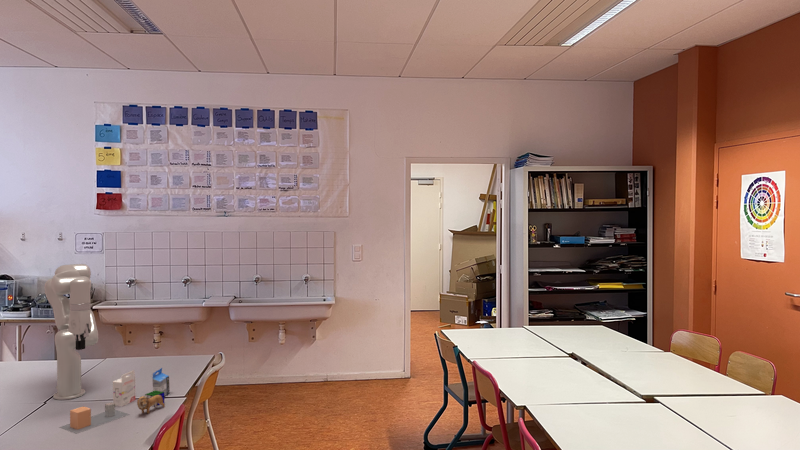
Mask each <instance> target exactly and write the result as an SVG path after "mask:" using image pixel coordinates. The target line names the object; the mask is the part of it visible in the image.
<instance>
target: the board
mask: <svg viewBox="0 0 800 450" xmlns="http://www.w3.org/2000/svg"><path fill="white" fill-rule="evenodd" d="M130 415H131V414H130V413H127V412H123V411H120V410H117V409H115V415H114V416H111V417H106V416H105V411H103V412H101V413H97V414H95V415H91V425H89V426H86V427H84V428H81V429H78V430H77V429H74V428H72V427H70V423H68V424H66V425H65V424H64V425H62V426H59V427H58V428H60V429H62V430H65V431H68V432H70V433H73V434H79V433H83V432H85V431H88V430H91V429H94V428H97V427H99V426H103V425H104V424H107V423H110V422H113V421H116V420H118V419H119V420H120V419H122V418H125V417H126V416H130Z"/></svg>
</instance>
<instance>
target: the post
mask: <svg viewBox="0 0 800 450" xmlns="http://www.w3.org/2000/svg"><path fill="white" fill-rule="evenodd" d="M115 410H116V406H115V403H113V401H111V402H108V403H105V404H104V412H105V416H106V417H111V416H114V415H115Z"/></svg>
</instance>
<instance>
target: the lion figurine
mask: <svg viewBox="0 0 800 450" xmlns="http://www.w3.org/2000/svg"><path fill="white" fill-rule="evenodd" d="M136 401H137V402H136V403H137V404H136V405H137V407H138V409H139V410H141V414H145V410H146V414H147V415H148V414H150V409H151V407H152V406H153V405H155V407H153V409H157V407H158V405H157V403H159V404H160V405H159V406H161V407H162V408H165V407H166V406H165V405H166V404H165V402H164V403H163V398H162V396H161V395H155V396H153V397H152V398H147V397H145V395H142V396H140V397H139V398H138V399H137V400H136Z"/></svg>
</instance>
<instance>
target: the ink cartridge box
mask: <svg viewBox="0 0 800 450" xmlns="http://www.w3.org/2000/svg"><path fill="white" fill-rule="evenodd" d="M135 372H136V371H135V370H134V369H133V370H130V371H129V372H126V373H124V374H121V376H120V378H118V379H115V380H113V381H112V403H115V407H124V406H126V405H129V404H130V403H132V402H134V401H136V374H135Z"/></svg>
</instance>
